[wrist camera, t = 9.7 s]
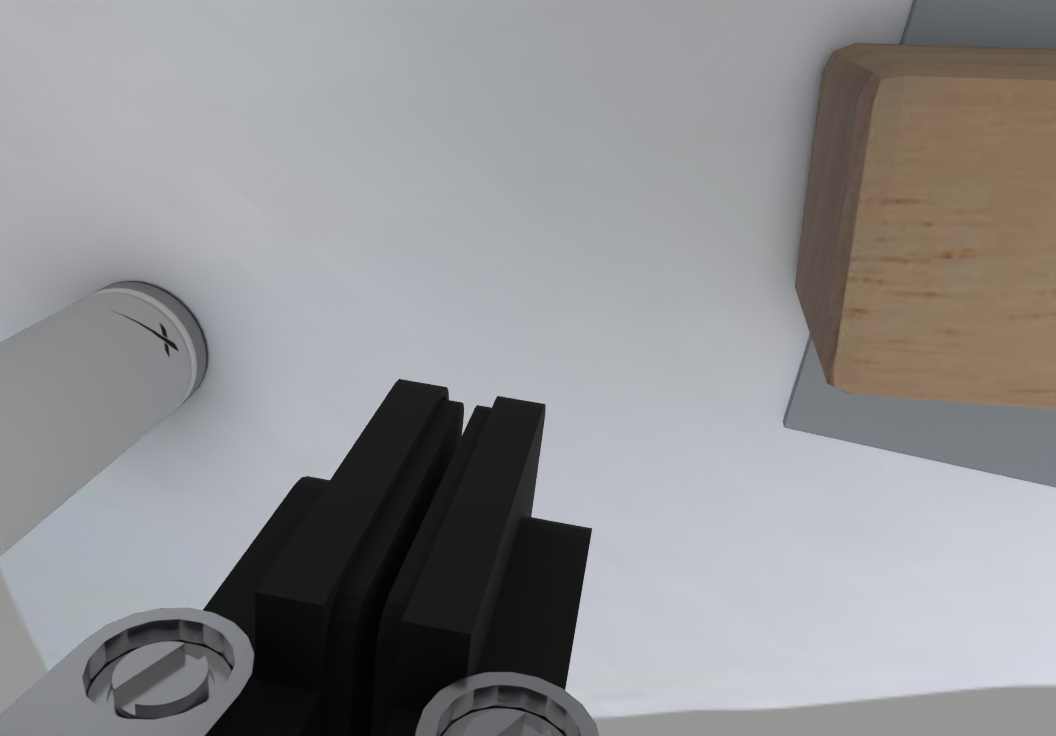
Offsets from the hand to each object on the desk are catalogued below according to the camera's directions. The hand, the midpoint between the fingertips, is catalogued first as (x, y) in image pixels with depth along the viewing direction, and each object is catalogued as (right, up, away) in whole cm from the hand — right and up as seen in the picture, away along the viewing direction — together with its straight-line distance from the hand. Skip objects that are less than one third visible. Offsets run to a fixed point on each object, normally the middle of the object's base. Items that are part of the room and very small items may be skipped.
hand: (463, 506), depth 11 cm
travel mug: (-17, +3, +34) cm, 38 cm away
